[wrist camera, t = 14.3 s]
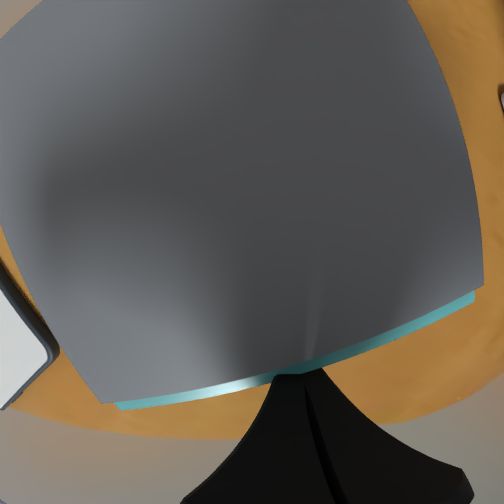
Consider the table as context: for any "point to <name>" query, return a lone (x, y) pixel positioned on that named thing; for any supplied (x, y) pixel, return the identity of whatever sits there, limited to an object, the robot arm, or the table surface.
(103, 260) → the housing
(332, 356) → the tray
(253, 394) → the table surface
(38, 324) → the smartphone
